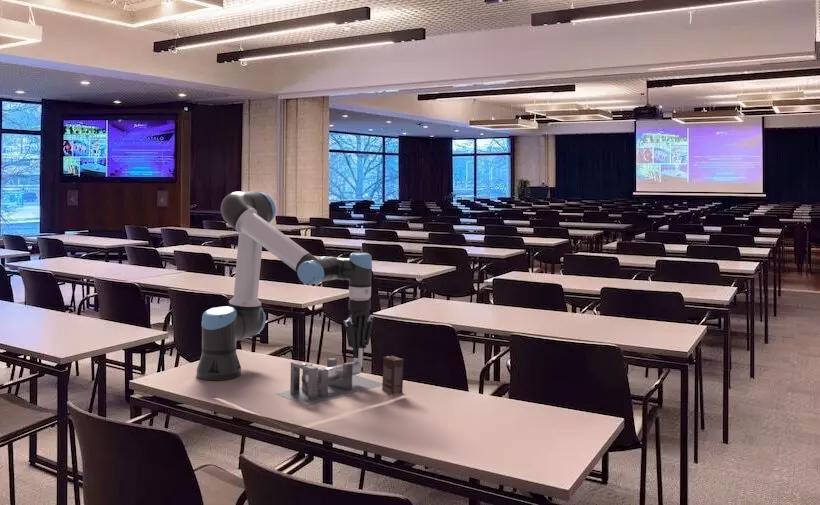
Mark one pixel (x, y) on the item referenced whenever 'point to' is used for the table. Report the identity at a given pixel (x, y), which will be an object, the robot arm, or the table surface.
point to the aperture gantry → (311, 383)
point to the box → (392, 375)
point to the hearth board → (332, 391)
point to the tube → (334, 372)
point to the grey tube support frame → (346, 381)
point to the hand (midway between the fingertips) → (358, 366)
